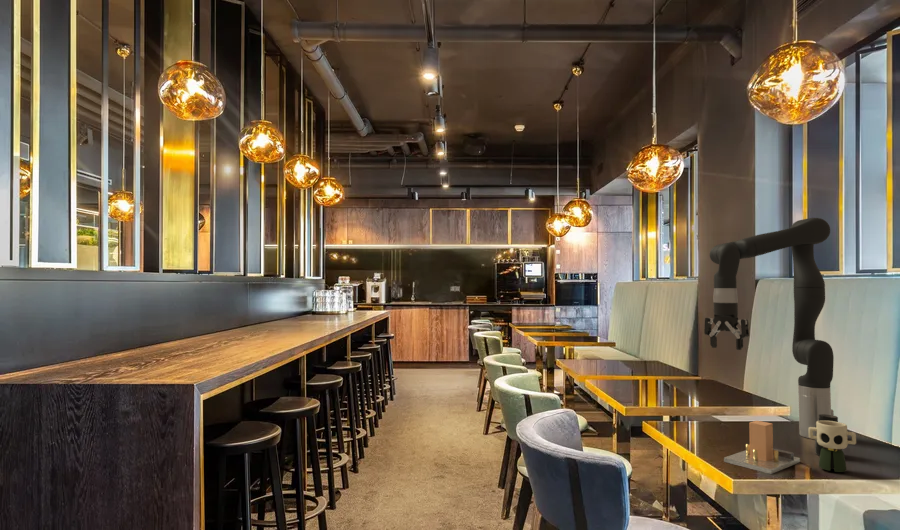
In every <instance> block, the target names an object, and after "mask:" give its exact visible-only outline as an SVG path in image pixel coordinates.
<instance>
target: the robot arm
mask: <svg viewBox="0 0 900 530" xmlns="http://www.w3.org/2000/svg"><path fill="white" fill-rule="evenodd" d="M830 234H831V226H830V224H829V223H828V221H826V220H824V219H823V218H819V217H809V218H803V219H800V220H796V221H795V222H793V223H792V225H791V226H790V227H788V228H785V229H782V230H781V229H780V230H777V231H771V232H767V233H766V232H765V233H760V234H756V235H753V236H748V237H744V238H742V239H739V240H736V241H735V240H734V241H732V242H731V241H730V242H725V243H720V244H717V245H714V246H713V247H712V248H711V249H710V251H709V259H710V260H711V262H712V263H714V264H716V265H718V270H717V271H716V272H714V275H713V293H712V295H713V298H712V302H713V315H714V316H713V318H712V317H705V318H704V335H706V336H709V338H710V339H709V343H710V344H709V345H710V346H711V348H713V349H717V347H718V340H717V339H718V337H717V335H718V334H719V333H720V332H724V331H725V332H731V333H732V334H733V335H734V336H735V337H736V338H735V341H736V342H735V345H736V347H735V348H736V350H737V351H741V350H742V349H743V348H744V339H745V338H749V336H750V331H749V328H750V327H749V320H748V318H742V319H739V317H738V316H739V307H738V305H739V303H738V299H739V297H738V290H737V274H738V272H739V266H740V261H741V259H751V258H755V257H758V256H762V255H766V254H769V253H772V252H776V251H779V250H782V249H786V248H790V250H791V255H792V268H793V269H792V270H793V271H792V273H793V306H794V307H793V308H794V309H793V311H794V315H793V319H794V321H793V323H794V324H793V325H794V326H793V333H792V334H793V335H792V336H793V337H792V346H791V347H792V348H791V350H792V352H791V353H792V356H793V358H794V360H795V361H796V362H797V363H799V364H800V365H805V366H806V373H805V374H803V375H800V376H799V377H798V380H797V382H798V385H797V386H798V425H799V429H798V430H799V431H798V432H799V436H800V437H803V438H807V439H810V438H809V432H808V429H809V427H815V425H816V422H817V421H819V415H820V414H827V415H833V416H835V414H834V410H833V409H832V404H831V403H832V400H831V395H832V394H831V383H832V381H833V378H834V361H835V360H834V351H833V348H832V346H831V345H830V343H829V342H827V341H825V340H819V339H816V336H815V335H816V333H815V331H816V330H815V329H816V324H817V323H816V322H817V320H818V318H819V316H820V314H821V312H822V311H823V308H824V306H825V303H826V284H825V283H826V282H825V280H824V279H825V278H824V277H823V274H822V273H821V271H820V269H819V268H818V266H817V263H816V261H815V255H814V253H815V251H814V249H815V247H814V245H817V244H821V243H823V242H824V241H825V242H826V240H827V239H828V238H829V236H830ZM712 324H714V326H713V328H712ZM738 325H740V327H741V329H740V328H739V327H738ZM813 436H815V431H813Z"/></svg>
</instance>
